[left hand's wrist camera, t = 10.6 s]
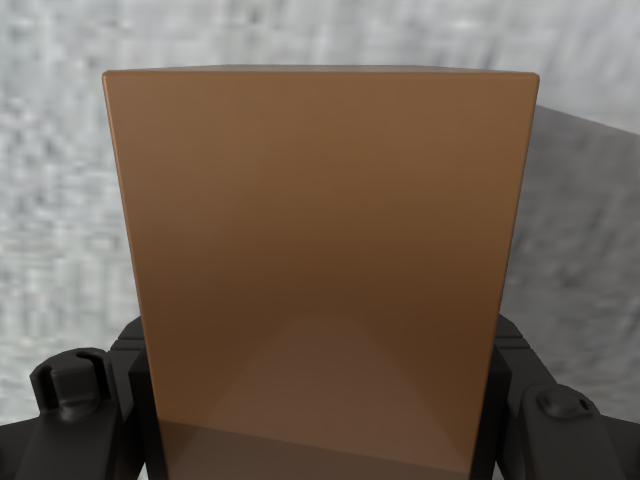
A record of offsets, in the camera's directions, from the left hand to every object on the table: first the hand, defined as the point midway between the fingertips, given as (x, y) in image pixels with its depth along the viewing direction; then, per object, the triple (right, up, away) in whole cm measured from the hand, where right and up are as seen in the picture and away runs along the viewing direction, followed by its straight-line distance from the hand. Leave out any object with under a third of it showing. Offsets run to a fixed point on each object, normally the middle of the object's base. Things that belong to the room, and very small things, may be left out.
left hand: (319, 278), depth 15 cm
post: (0, -23, +10) cm, 25 cm away
